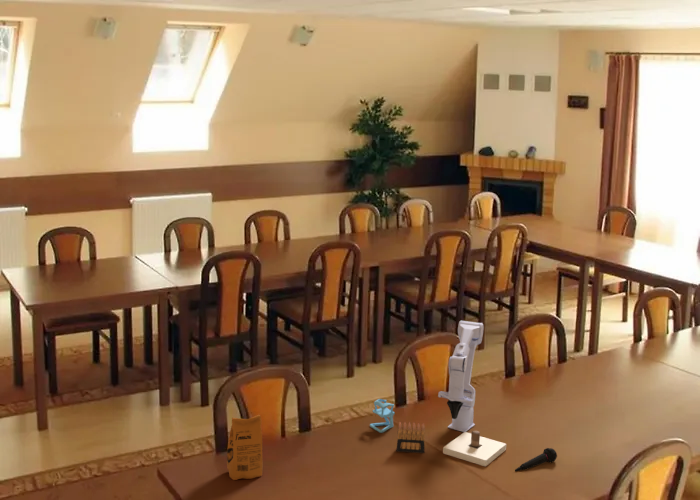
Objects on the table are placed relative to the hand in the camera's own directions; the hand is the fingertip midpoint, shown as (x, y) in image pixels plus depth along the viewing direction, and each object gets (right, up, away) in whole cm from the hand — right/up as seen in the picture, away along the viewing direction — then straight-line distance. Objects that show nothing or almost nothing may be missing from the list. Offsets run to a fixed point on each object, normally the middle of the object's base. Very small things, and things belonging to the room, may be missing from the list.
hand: (454, 418), depth 352 cm
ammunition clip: (-18, -12, -7) cm, 23 cm away
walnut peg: (+7, -12, -6) cm, 15 cm away
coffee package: (-79, -15, -30) cm, 86 cm away
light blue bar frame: (-28, -7, +13) cm, 31 cm away
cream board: (+7, -12, -6) cm, 15 cm away
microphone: (+28, -15, -15) cm, 36 cm away
